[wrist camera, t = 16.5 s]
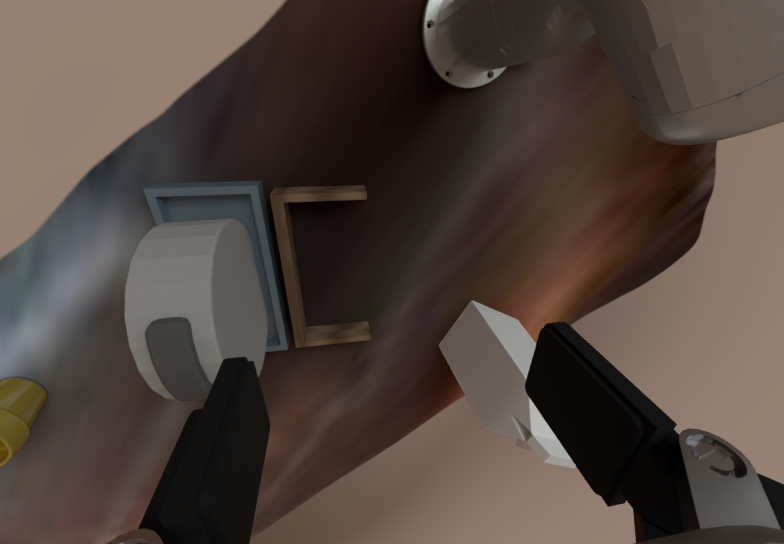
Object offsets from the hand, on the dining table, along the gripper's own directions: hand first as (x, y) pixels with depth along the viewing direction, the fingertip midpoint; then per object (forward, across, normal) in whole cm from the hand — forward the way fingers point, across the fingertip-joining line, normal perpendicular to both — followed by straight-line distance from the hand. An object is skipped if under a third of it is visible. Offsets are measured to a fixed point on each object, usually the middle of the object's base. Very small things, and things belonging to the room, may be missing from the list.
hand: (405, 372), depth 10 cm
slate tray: (+38, +18, +15) cm, 45 cm away
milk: (+38, -24, +32) cm, 56 cm away
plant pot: (+38, +54, +34) cm, 75 cm away
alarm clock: (+38, +18, +15) cm, 44 cm away
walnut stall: (+38, +4, +15) cm, 41 cm away
